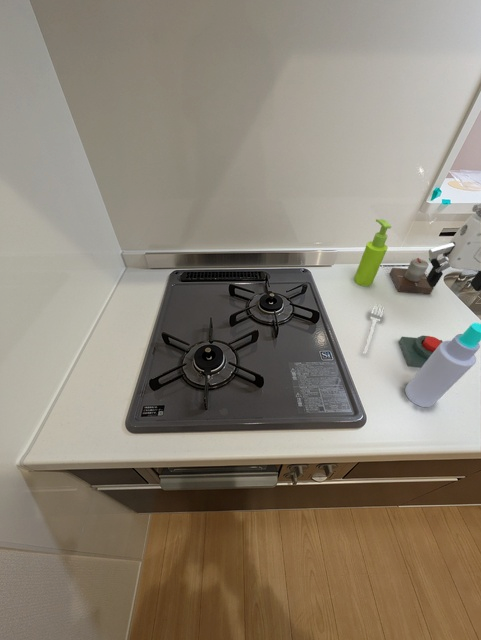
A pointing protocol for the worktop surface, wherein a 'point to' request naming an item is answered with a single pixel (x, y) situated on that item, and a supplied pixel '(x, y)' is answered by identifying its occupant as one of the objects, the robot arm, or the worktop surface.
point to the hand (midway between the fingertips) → (452, 285)
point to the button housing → (414, 351)
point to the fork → (373, 326)
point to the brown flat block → (409, 282)
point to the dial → (416, 270)
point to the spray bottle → (444, 367)
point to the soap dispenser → (372, 256)
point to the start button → (431, 343)
